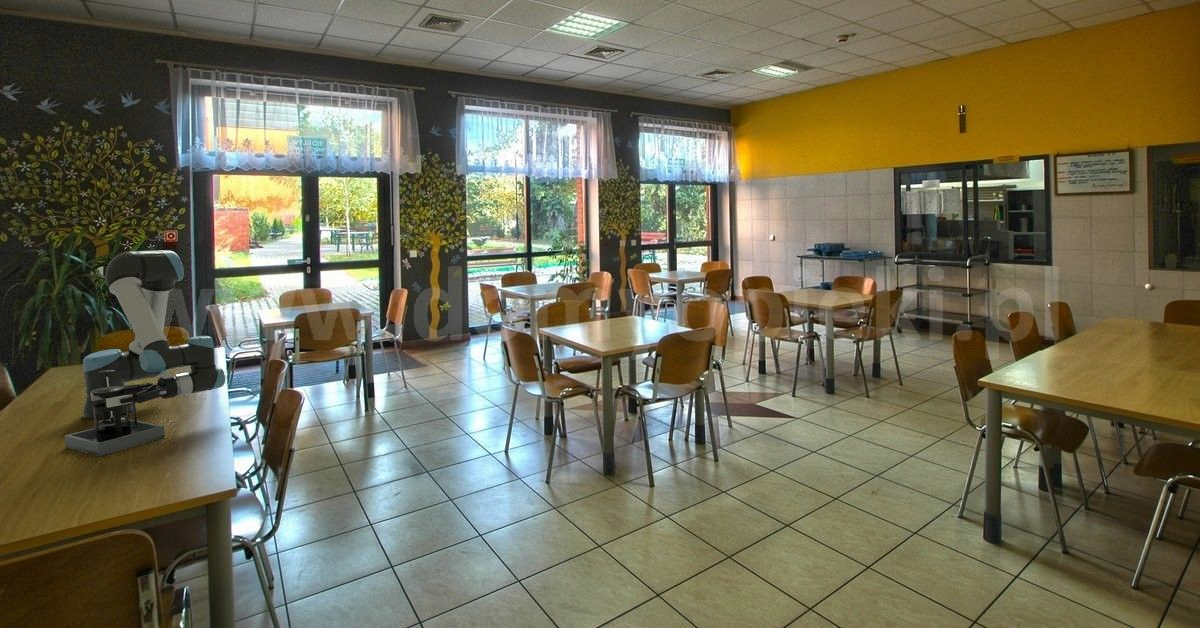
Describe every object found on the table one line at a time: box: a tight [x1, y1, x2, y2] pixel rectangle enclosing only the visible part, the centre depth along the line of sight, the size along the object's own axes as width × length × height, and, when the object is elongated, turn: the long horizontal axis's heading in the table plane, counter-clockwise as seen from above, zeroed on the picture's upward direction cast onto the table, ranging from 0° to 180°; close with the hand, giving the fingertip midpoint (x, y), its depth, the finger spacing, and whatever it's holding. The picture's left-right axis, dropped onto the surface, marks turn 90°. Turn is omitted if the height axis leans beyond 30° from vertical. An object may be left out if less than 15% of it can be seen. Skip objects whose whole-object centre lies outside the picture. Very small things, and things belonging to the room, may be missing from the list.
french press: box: [91, 370, 138, 442], centre depth 203 cm, size 12×9×23 cm
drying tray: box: [64, 418, 166, 457], centre depth 205 cm, size 19×19×4 cm
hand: (98, 400), depth 200 cm, fingers open, 13 cm apart
